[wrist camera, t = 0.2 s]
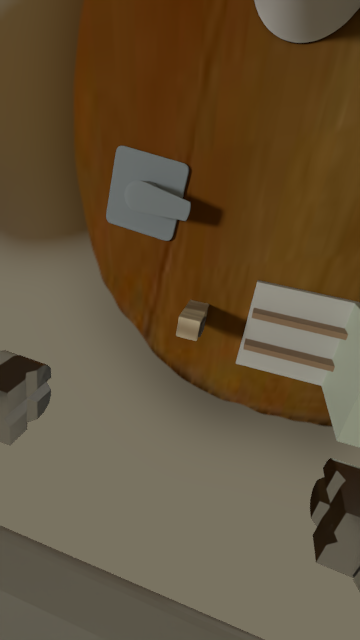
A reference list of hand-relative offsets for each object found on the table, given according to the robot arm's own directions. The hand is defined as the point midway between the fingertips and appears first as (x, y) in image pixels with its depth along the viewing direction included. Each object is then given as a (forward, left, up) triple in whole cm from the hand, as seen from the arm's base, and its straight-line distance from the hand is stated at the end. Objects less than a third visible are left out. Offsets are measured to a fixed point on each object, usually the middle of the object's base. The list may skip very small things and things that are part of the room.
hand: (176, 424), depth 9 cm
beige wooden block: (+16, -6, -48) cm, 51 cm away
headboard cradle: (+16, +13, -48) cm, 52 cm away
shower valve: (-2, -17, -49) cm, 51 cm away
